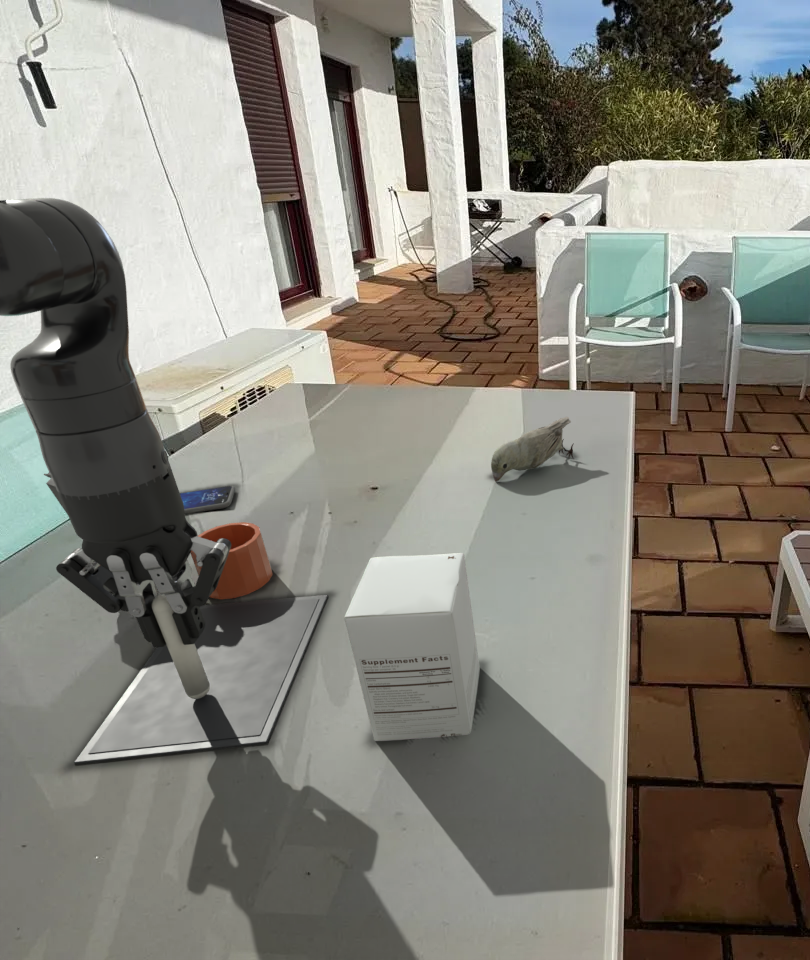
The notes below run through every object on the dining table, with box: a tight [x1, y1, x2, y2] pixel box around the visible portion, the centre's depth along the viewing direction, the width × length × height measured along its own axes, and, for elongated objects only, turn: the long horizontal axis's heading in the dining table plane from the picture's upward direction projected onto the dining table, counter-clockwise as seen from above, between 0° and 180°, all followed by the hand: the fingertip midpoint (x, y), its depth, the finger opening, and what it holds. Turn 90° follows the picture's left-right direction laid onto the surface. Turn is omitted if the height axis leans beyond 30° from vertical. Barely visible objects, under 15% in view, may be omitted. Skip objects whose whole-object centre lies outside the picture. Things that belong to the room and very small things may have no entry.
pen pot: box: [190, 521, 273, 600], centre depth 78 cm, size 8×8×7 cm
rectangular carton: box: [343, 552, 481, 742], centre depth 58 cm, size 9×9×15 cm
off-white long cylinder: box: [152, 593, 210, 699], centre depth 59 cm, size 2×2×12 cm
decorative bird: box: [490, 416, 575, 483], centre depth 108 cm, size 5×16×8 cm, turn 132°
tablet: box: [73, 594, 329, 765], centre depth 66 cm, size 16×22×1 cm
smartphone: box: [180, 485, 236, 515], centre depth 98 cm, size 7×1×15 cm
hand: (179, 639), depth 58 cm, fingers closed on off-white long cylinder, 2 cm apart
